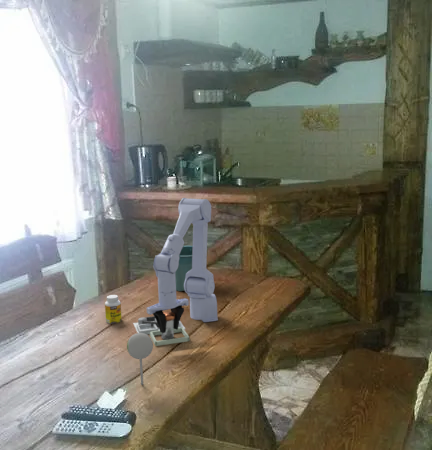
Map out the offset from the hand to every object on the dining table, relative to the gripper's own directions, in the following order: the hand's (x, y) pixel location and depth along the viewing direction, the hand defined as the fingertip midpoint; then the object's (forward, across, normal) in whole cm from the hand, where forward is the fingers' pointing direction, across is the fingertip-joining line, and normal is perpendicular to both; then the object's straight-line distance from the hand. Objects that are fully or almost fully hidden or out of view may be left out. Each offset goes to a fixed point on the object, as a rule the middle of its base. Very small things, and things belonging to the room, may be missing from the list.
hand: (169, 330), depth 197 cm
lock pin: (+2, 0, -1) cm, 3 cm away
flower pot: (+4, -35, -46) cm, 58 cm away
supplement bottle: (+4, +8, -26) cm, 28 cm away
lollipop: (+4, +21, +22) cm, 31 cm away
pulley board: (+4, -2, -12) cm, 13 cm away
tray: (+4, 0, 0) cm, 4 cm away
